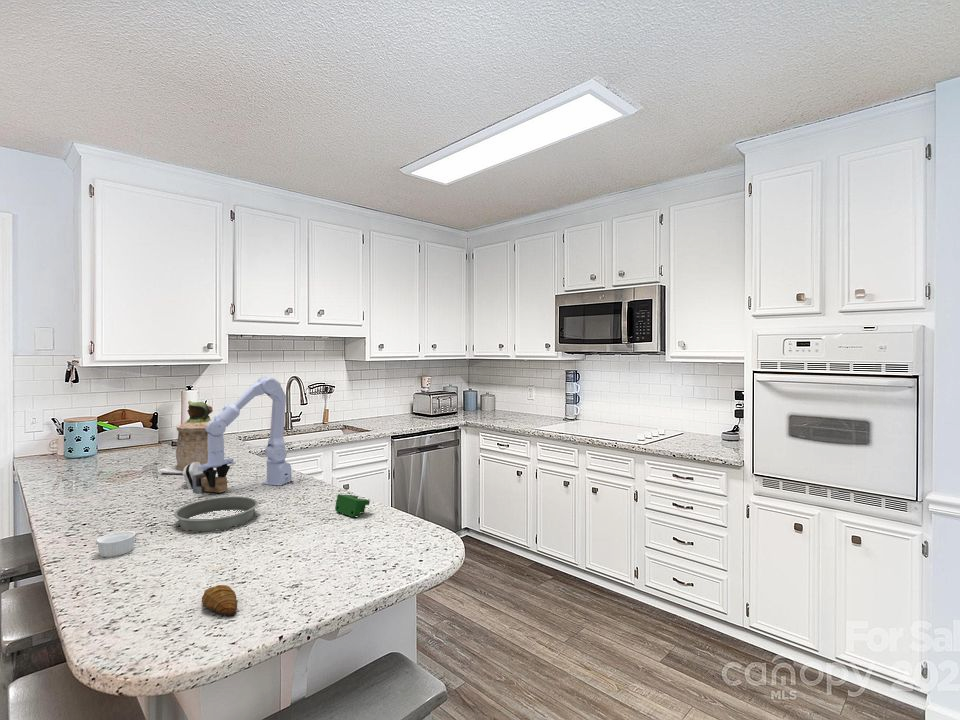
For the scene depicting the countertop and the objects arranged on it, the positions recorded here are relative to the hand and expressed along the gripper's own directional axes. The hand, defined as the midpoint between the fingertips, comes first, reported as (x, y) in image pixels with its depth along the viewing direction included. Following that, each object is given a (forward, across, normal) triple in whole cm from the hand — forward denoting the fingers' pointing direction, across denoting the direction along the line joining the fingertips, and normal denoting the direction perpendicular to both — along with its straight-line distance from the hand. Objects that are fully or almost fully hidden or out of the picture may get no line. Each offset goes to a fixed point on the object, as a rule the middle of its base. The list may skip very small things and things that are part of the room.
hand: (216, 485), depth 205 cm
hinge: (+3, -6, -19) cm, 20 cm away
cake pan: (+3, +23, +28) cm, 37 cm away
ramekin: (+3, +53, +26) cm, 59 cm away
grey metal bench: (+3, 0, -6) cm, 7 cm away
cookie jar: (+3, -26, -43) cm, 50 cm away
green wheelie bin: (+3, 0, +65) cm, 65 cm away
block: (+2, 0, -1) cm, 2 cm away
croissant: (+3, +64, +79) cm, 101 cm away
